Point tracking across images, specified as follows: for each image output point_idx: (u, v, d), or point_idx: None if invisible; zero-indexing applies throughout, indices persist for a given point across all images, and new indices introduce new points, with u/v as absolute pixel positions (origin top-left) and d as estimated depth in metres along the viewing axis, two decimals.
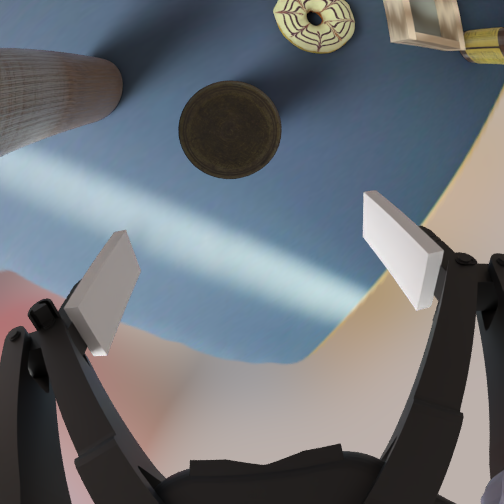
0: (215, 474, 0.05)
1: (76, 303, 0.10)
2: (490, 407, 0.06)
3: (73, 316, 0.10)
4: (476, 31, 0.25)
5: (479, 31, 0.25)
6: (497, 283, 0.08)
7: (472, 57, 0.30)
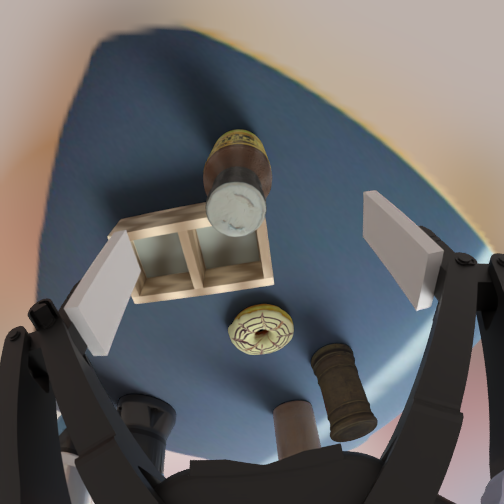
0: (215, 474, 0.05)
1: (76, 303, 0.10)
2: (490, 407, 0.06)
3: (73, 316, 0.10)
4: None
5: None
6: (497, 283, 0.08)
7: None
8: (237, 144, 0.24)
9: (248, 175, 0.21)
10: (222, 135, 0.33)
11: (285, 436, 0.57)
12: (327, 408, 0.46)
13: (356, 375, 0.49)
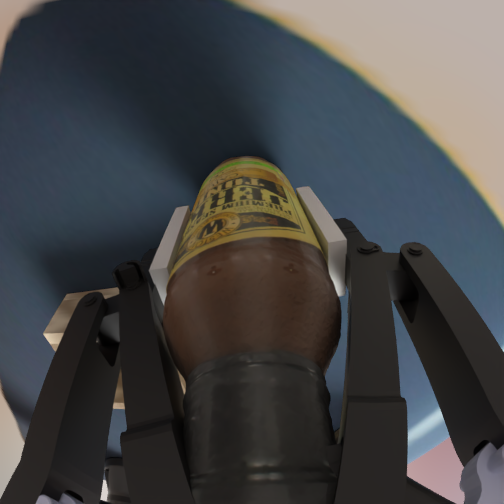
0: None
1: (163, 264, 0.11)
2: (438, 398, 0.07)
3: (158, 278, 0.11)
4: None
5: None
6: (413, 275, 0.09)
7: None
8: (253, 239, 0.09)
9: (304, 423, 0.05)
10: (215, 170, 0.17)
11: None
12: None
13: None
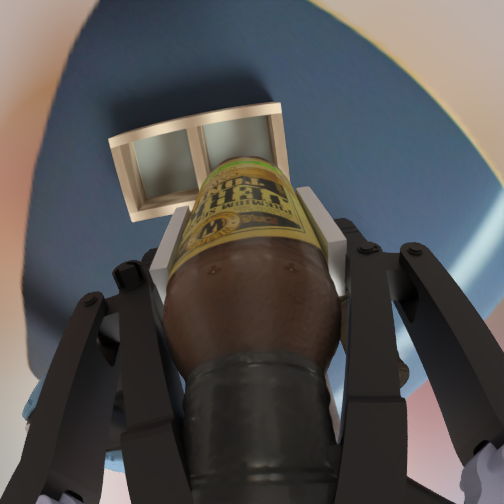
0: None
1: (163, 264, 0.11)
2: (438, 398, 0.07)
3: (158, 278, 0.11)
4: None
5: None
6: (413, 275, 0.09)
7: None
8: (253, 238, 0.09)
9: (304, 424, 0.05)
10: (214, 170, 0.17)
11: None
12: None
13: None
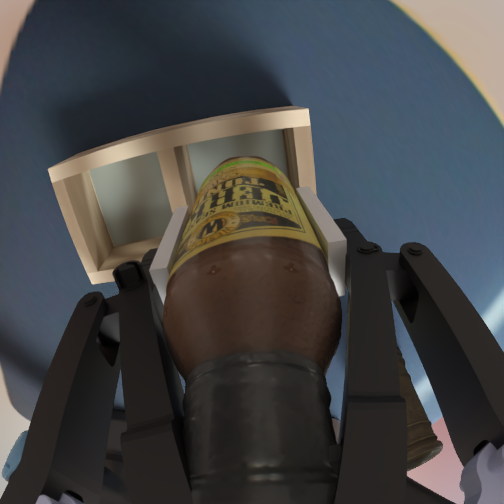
0: None
1: (163, 264, 0.11)
2: (438, 398, 0.07)
3: (158, 278, 0.11)
4: None
5: None
6: (413, 275, 0.09)
7: None
8: (253, 238, 0.09)
9: (305, 424, 0.05)
10: (214, 170, 0.17)
11: None
12: None
13: (412, 386, 0.33)
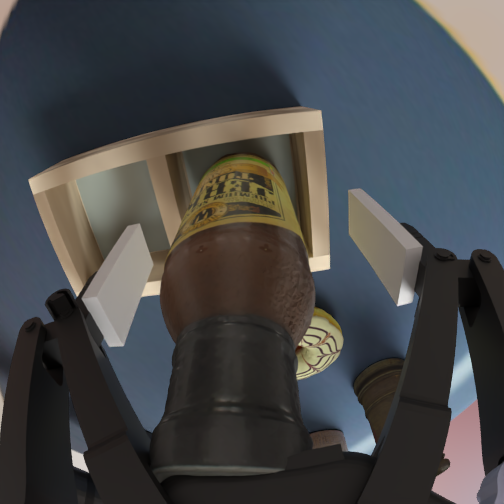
0: None
1: (94, 293, 0.10)
2: (479, 404, 0.06)
3: (91, 306, 0.10)
4: None
5: None
6: (479, 279, 0.08)
7: None
8: (236, 223, 0.10)
9: (266, 372, 0.07)
10: (212, 166, 0.19)
11: None
12: None
13: None
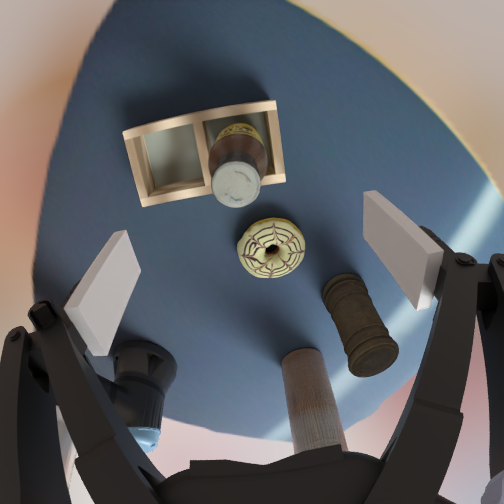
0: (215, 474, 0.05)
1: (76, 303, 0.10)
2: (490, 407, 0.06)
3: (73, 316, 0.10)
4: None
5: None
6: (497, 283, 0.08)
7: None
8: (237, 133, 0.28)
9: (246, 157, 0.25)
10: (224, 128, 0.37)
11: (295, 385, 0.56)
12: (343, 337, 0.45)
13: (371, 303, 0.49)
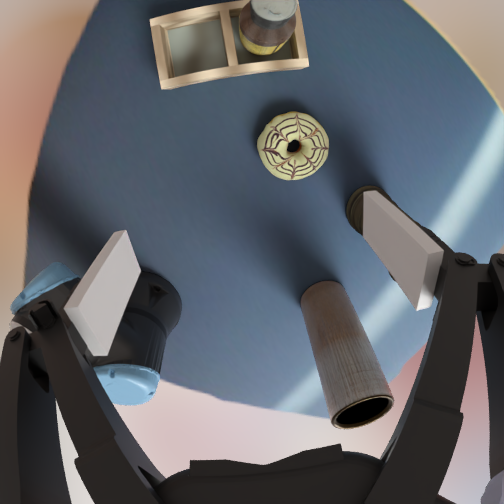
0: (215, 474, 0.05)
1: (76, 303, 0.10)
2: (490, 407, 0.06)
3: (73, 316, 0.10)
4: (249, 48, 0.32)
5: (250, 47, 0.31)
6: (497, 283, 0.08)
7: None
8: None
9: None
10: None
11: (321, 316, 0.51)
12: None
13: None
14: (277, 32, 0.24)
